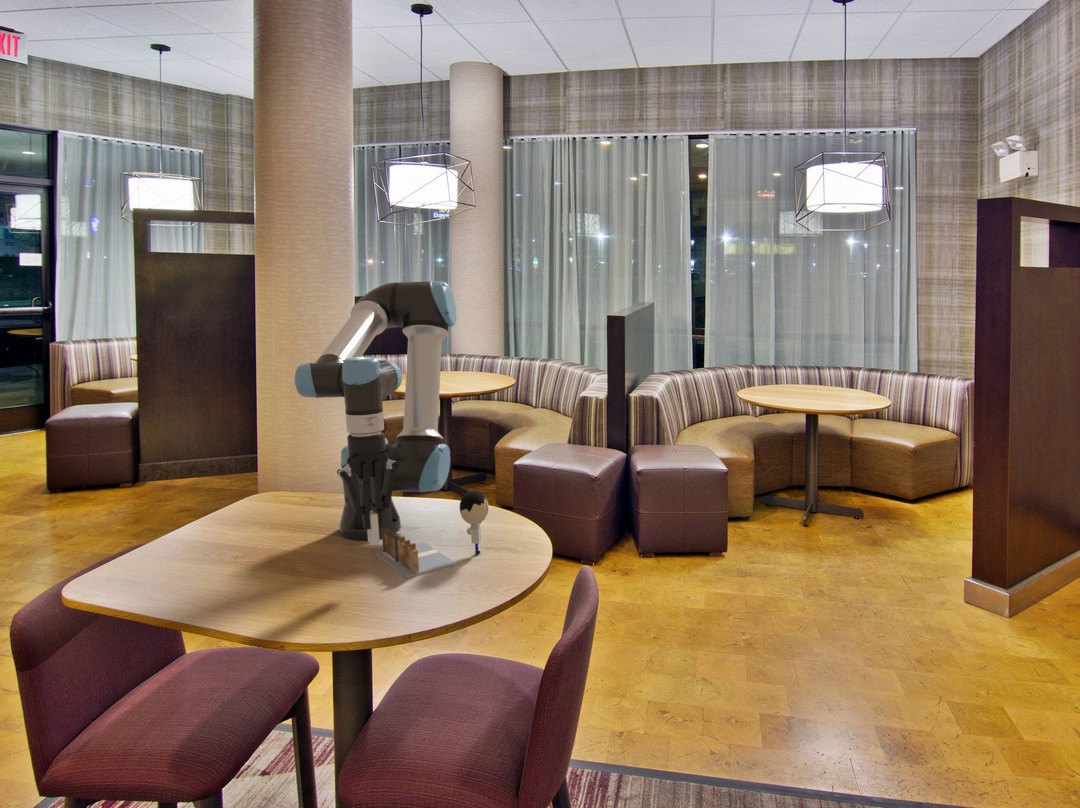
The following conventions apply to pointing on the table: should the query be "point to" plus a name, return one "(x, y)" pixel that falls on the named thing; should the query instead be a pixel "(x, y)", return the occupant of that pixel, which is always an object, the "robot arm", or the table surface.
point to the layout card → (420, 561)
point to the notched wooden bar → (408, 554)
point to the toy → (474, 514)
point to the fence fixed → (390, 542)
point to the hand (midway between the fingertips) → (373, 542)
